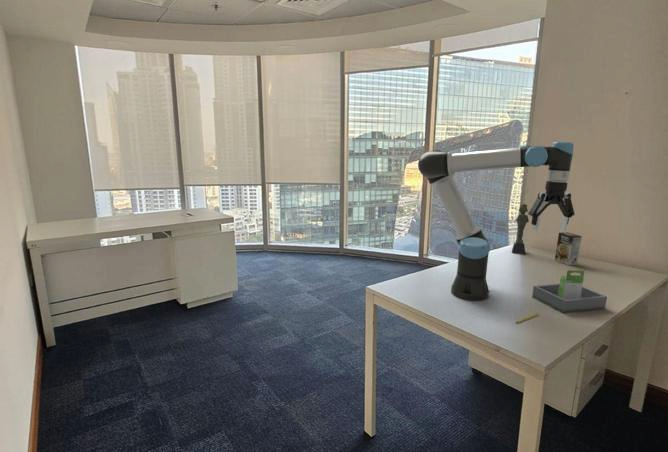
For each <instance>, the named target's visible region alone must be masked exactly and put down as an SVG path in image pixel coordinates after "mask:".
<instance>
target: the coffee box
mask: <svg viewBox="0 0 668 452" xmlns="http://www.w3.org/2000/svg"><path fill="white" fill-rule="evenodd" d="M582 238H583V237H582V236H581V235H579V234H576V233H575V234H574V233H572V232H567V231H566V233H563V232H558V236H557V241H556V244H557V245H556V249H555V250H556V251H555V255H554V261H555V262H558V263H561V264H563V265H567V266H574V265H575V266H576V265H577V264H578V259H579V253H580V248H581V241H582Z"/></svg>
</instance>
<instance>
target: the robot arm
mask: <svg viewBox="0 0 668 452" xmlns="http://www.w3.org/2000/svg"><path fill="white" fill-rule="evenodd" d="M574 146H575V145H574V143H573V142H571V141H554V142H552V144H551V146H542V145H520V146H519V147H512V148H511V147H509V148H501V149H500V148H499V149H489V150H480V151H469V152H468V151H467V152H456V153H452V152H450V151H442V150H439V149H437V150H436V149H435V150H429V151H426V152H424V153H423V154H422V155H421V156H420V157H419V159H418V162H417V167H418V171H419V172H420V174H421V175H422V176H423V177H426V178H427V180H428V183H429V185H430V186H433V187H435V190H436V192H437V193H438V195H439V198H440V201H441V202H442V204H443V207H444V208H445V211H446V213H447V216H448V217H449V219H450V222H451V223H452V227H453V228H454V230H455V232H456V237H455V240H456V243H457V244H458V257H457V259H458V260H457V270H456V276H455V278H454V281H453V283H452V285H451V288H450V290H451V292H450V293H452V295H453V296H455V297H457V298H459V299H463V300H468V301H484V300H487V299H488V298H489V294H490V291H489V285H488V283H487V282H488V281H487V272H488V271H487V270H488V264H489V263H488V261H489V255H490V248H491V247H490V245H491V244H490V243H489V240H488V239H487V237H485V235H484V232H483V231H482V228H480V227H478V226H476V224H475V222H474V220H473V218H472V216H471V213H470V211H469V210H468V207H467V205H466V203H465V201H464V198H463V197H462V195H461V192H460V190H459V188H458V186H457V184H456V182H455V179H454V176H455V173H460V172H461V173H462V172H464V173H465V172H474V171H475V172H477V171H487V170H500V169H501V170H502V169H516V168H530V167H531V168H532V167H533V168H537V167H538V168H539V167H542V166H548V169H547V175H546V180H547V181H546V182H545V188H544V189H545V193H544V192H538V194H537V197H536V200H535V201H534V202H533V205H532V206H531V208H530V209H529V210H528V215H529V216H530V217H531V230H530V231H531V233H533V234H538V233H539V226H540V222H541V221H540V220H541V218H540V216H541V215H542V213H543V212H544V211H545V210H546V209H547V208H548V207H549V206H550V205H557V206H558V208H559V209H560V212H561V213H562V216H560V221H559V222H560V224H559V228H558V232H559V233H561V232H563V233H566V232H567V226H568V225H569V221H570V218H572V217H573V216H575V210H574V205H573V202H572V193H569V192H567V189H568V181H569V179H570V178H569V177H570V171H571V166H572V160H573V156H574Z"/></svg>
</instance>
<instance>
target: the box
mask: <svg viewBox="0 0 668 452" xmlns="http://www.w3.org/2000/svg"><path fill="white" fill-rule="evenodd" d="M559 285H560V283H551V284H550V283H549V284H543V285H540V284H539V285H533V287H532V288H533V289H532V294H531V295H532V297H531V298H533V299H534V300H537V301H539V302H541V303H543V304H544V305H547V306H548V307H550V308H552V309H554V310H556V311H558V312H560V313H562V314H568V313H578V312H585V311H587V312H588V311H595V310H596V311H597V310H604V309H606V305H607V299H608V296H606V295H605V294H601V293H600V292H597V291H594V290H593V289H590V288H588V287H585V286H583V285H582V291H581V297H580V298H578V299H569V300H565V299H563V298H560V297H558V291H559Z"/></svg>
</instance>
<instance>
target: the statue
mask: <svg viewBox="0 0 668 452" xmlns="http://www.w3.org/2000/svg"><path fill="white" fill-rule="evenodd" d="M517 211H518V212H520V214H518V215H517V217H516V219H515V221H516V223H517V239H515V242H514V243H513V245H512V248H511V249H512V250H511V253H512V254H517V255H526V247H525V243H524V239H523V237H524V229H525V227H526V225H527V223H529V222H530V219H529V216H528V215H526V213H527V212H528V213H529V210H528V204H525V203H523V204H521V205H520V207H519V209H518V210H517Z"/></svg>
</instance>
